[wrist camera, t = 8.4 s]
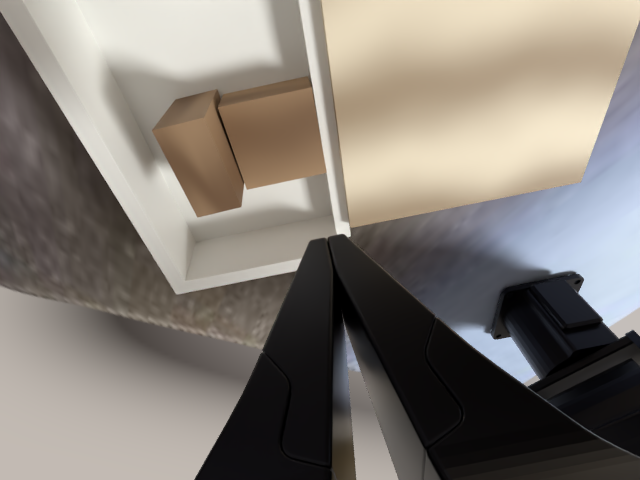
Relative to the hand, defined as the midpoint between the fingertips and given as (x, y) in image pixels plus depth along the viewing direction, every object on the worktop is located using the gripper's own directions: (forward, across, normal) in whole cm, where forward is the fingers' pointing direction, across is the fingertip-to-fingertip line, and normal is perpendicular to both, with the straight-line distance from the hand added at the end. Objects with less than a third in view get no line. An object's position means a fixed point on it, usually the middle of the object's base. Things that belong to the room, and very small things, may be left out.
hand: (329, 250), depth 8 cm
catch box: (+11, +3, 0) cm, 12 cm away
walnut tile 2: (+11, +1, 0) cm, 11 cm away
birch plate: (+11, -8, 0) cm, 14 cm away
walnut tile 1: (+9, +3, 0) cm, 9 cm away
